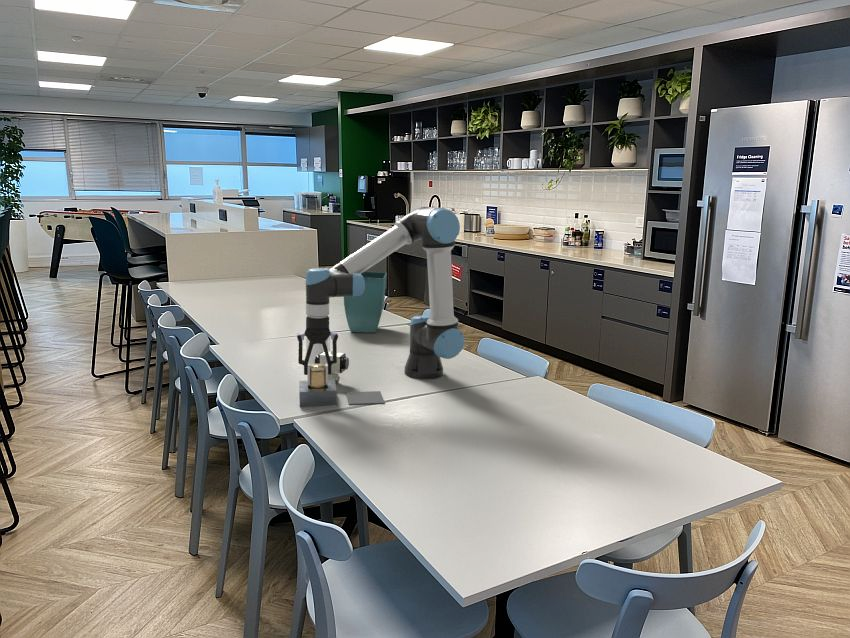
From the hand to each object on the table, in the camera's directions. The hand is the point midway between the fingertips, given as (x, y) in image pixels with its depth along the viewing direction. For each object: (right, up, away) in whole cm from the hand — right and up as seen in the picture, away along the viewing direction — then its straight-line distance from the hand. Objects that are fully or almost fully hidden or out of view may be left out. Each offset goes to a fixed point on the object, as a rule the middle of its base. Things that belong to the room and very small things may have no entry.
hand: (317, 383), depth 212 cm
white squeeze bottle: (-7, +3, +44) cm, 44 cm away
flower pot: (+6, +16, +105) cm, 107 cm away
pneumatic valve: (+2, -2, +21) cm, 21 cm away
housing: (0, -6, +1) cm, 6 cm away
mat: (+15, -6, +4) cm, 17 cm away
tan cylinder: (0, -6, +1) cm, 6 cm away
